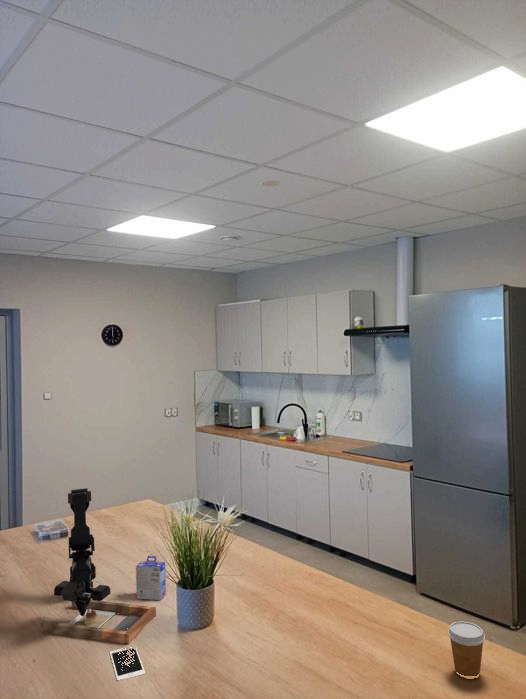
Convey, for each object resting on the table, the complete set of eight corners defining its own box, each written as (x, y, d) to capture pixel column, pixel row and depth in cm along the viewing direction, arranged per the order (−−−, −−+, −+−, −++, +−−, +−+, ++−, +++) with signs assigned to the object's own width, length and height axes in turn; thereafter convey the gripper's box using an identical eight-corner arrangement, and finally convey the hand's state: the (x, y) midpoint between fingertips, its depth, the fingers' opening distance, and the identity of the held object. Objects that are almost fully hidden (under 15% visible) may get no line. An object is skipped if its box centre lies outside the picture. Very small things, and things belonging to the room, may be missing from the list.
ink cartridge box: (167, 593, 202) (165, 555, 202) (161, 600, 196) (160, 561, 196) (142, 592, 204) (141, 554, 204) (136, 599, 198) (134, 559, 198)
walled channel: (40, 632, 177) (40, 622, 177) (74, 606, 194) (74, 597, 194) (129, 644, 168) (128, 634, 168) (156, 615, 185) (155, 607, 185)
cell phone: (117, 683, 149) (117, 680, 149) (109, 653, 164) (109, 651, 164) (145, 675, 152) (145, 673, 152) (135, 647, 167) (135, 645, 167)
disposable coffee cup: (443, 664, 152) (442, 621, 152) (475, 661, 153) (474, 619, 153) (458, 685, 143) (457, 640, 143) (493, 682, 144) (491, 637, 143)
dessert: (116, 615, 187) (116, 601, 187) (96, 633, 176) (96, 618, 176) (86, 611, 191) (85, 598, 191) (65, 629, 179) (64, 614, 179)
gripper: (42, 576, 178) (43, 624, 178) (91, 582, 172) (92, 631, 172) (63, 563, 188) (65, 608, 188) (110, 568, 183) (112, 614, 183)
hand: (82, 615), depth 183 cm, fingers closed
